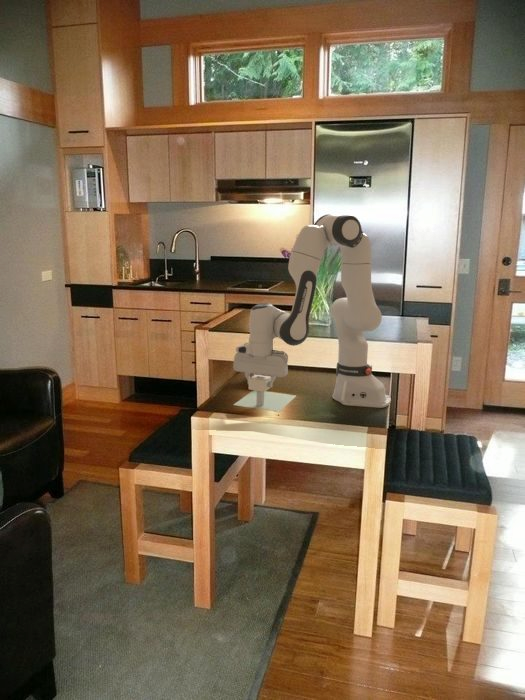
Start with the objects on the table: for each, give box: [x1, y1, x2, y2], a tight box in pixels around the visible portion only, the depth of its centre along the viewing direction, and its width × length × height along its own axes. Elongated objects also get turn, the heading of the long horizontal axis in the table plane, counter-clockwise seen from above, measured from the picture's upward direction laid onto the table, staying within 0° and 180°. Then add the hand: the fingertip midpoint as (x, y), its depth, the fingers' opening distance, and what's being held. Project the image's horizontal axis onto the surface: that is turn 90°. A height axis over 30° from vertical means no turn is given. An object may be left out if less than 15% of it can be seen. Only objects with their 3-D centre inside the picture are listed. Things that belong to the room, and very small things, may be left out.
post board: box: [233, 390, 297, 417], centre depth 208 cm, size 18×20×10 cm
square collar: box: [248, 374, 272, 392], centre depth 202 cm, size 6×6×4 cm
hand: (260, 385), depth 202 cm, fingers closed on square collar, 6 cm apart
